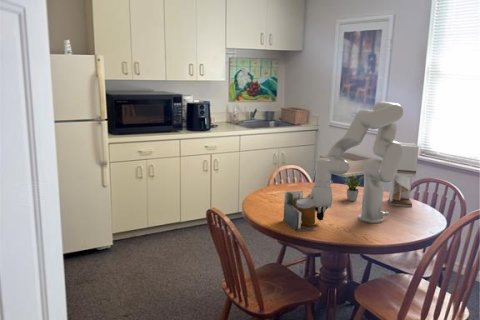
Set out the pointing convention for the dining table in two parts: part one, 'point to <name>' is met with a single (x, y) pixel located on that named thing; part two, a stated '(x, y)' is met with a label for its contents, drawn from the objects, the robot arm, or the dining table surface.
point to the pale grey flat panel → (297, 213)
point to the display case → (404, 176)
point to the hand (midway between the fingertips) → (319, 219)
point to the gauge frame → (292, 210)
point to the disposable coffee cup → (307, 210)
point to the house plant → (352, 188)
